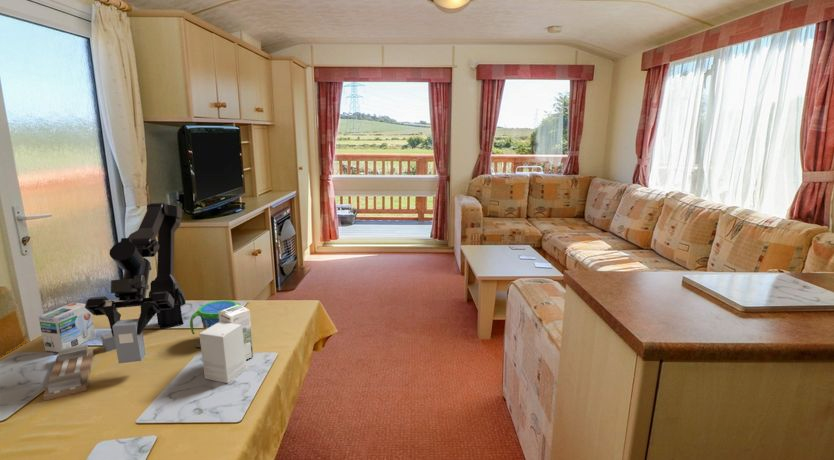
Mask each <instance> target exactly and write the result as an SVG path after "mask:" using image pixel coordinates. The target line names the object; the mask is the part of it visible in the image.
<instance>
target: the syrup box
mask: <svg viewBox="0 0 834 460" xmlns="http://www.w3.org/2000/svg"><path fill="white" fill-rule="evenodd" d="M239 305H240V304H239ZM239 305H236V306H233V307H230V308H227V309H225V310H222V311H219V312H218V313H219V322H225V323H232V324H239V325H242V331H243V340H244V349H245V358H246V360H247V359H249V358H251V357H253V358H254V350H253V349H254V347H253V337H252V325H251V314H250V313H251V311H250V309H249V308H247V307H245V306H243V305H241V306H239ZM251 359H252V358H251ZM249 360H250V359H249ZM247 361H248V360H247Z"/></svg>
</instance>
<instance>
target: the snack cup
mask: <svg viewBox="0 0 834 460" xmlns="http://www.w3.org/2000/svg"><path fill="white" fill-rule="evenodd" d="M236 305H239V306H242V305H241V304H239V303H236V302H235V301H232V300H217V301H211V302H208V303H205V304H203V305H200V307H198V310H197V311H195V312H194V313H193V314H192V315H191V317H190V319H189V320H190V321H189V327H190V330H191V333H192V335H195V331H194V322H193V321H194V319H196V317H200V318H201V323H202V326H203V327H202V328H203V331H204V330H206V329H208V328H209V327H211V326H213V325H215V324H216V323H218V322H219V313H218V312H219V311H222V310H225V309H227V308H230V307H233V306H236Z"/></svg>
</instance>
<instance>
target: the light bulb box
mask: <svg viewBox="0 0 834 460" xmlns="http://www.w3.org/2000/svg"><path fill="white" fill-rule="evenodd" d="M85 304H86V303H81V302H80V303H79V302H70V303H68V304H66V305H63V306H60V307H58V308H54V309H53V310H50V311H48V312H45V313H43V314H40V315H38V321H39V326H40V332H41V335H42V341H43V345H44V350H45V351H47V352H55V353H59V351H60V349H63V348H68V347H73V346H78V345H82V344H85V343H87V342H88V340H89V341H90V339H91V340H92V338H93V339H95V338H96V331H95V325H94V318H93V314H92V313H91V312H90V311H88V310H87V309H86V308H85ZM94 337H95V338H94Z"/></svg>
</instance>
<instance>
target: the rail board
mask: <svg viewBox="0 0 834 460" xmlns="http://www.w3.org/2000/svg"><path fill="white" fill-rule="evenodd" d="M94 354H95V353H94V348H90V349H89V346H88V343H82V344H80V345H78V346H73V347H68V348H63V349H60V351H59V352H58V355H57V356H56V358H55V362H54V364H53V367H52V370H51V373H50V375H49V378H48V382H47V384H46V387H45V390H44V393H43V401H49V400H53V399H56V398H61V397H65V396H70V395H74V394H77V393H81V392H85V391H87V389H88V384H89V380H90V375H91V374H90V373H91V368H92V363H93V360H94V359H93V357H94Z"/></svg>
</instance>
